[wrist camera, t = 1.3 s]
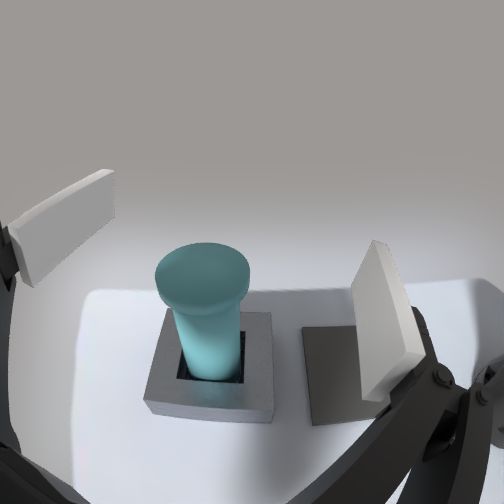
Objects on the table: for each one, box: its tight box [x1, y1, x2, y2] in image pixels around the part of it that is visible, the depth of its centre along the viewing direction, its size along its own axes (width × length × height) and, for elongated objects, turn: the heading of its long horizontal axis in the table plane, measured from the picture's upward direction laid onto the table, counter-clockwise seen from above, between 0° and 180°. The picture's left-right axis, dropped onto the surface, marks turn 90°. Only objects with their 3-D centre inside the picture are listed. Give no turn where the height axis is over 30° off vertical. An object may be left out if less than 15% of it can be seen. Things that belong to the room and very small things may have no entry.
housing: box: [143, 308, 274, 423], centre depth 31 cm, size 13×13×4 cm
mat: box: [302, 326, 391, 426], centre depth 32 cm, size 14×14×1 cm
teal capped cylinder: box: [155, 243, 250, 383], centre depth 27 cm, size 8×8×16 cm
